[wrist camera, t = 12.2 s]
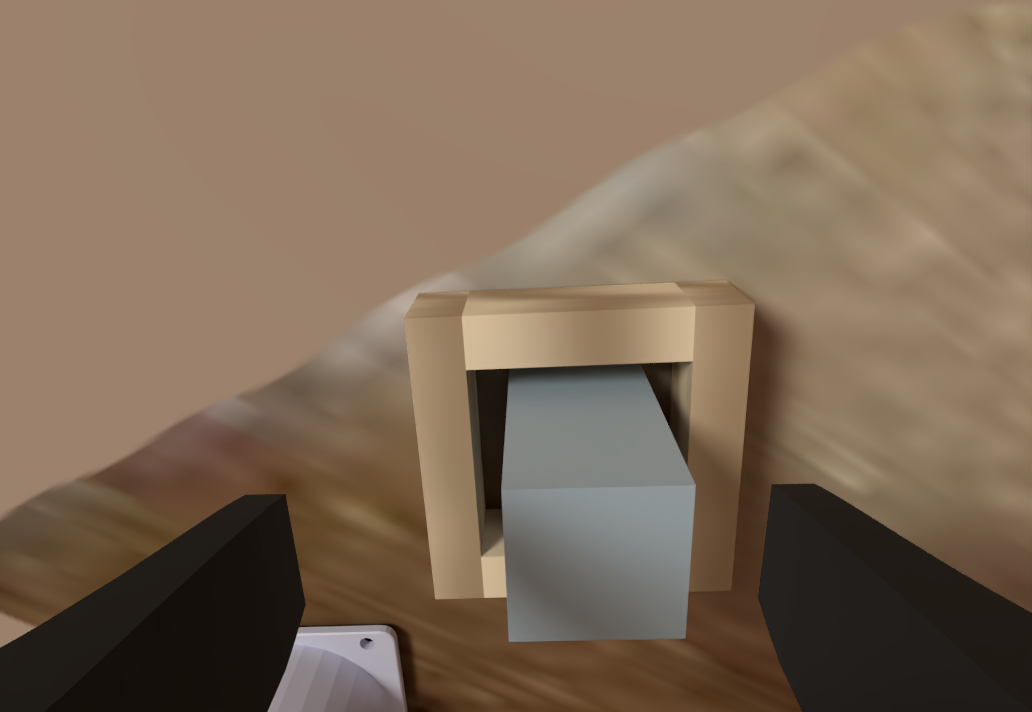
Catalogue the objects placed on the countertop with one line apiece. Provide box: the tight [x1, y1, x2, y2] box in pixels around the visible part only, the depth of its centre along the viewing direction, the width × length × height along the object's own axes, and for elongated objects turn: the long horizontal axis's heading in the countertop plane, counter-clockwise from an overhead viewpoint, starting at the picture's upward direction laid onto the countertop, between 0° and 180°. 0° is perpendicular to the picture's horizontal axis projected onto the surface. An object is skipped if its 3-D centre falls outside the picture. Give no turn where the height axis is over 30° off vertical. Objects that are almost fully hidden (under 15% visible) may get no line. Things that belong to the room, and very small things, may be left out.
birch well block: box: [404, 280, 755, 599], centre depth 20 cm, size 9×9×2 cm
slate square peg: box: [501, 363, 696, 642], centre depth 17 cm, size 4×4×7 cm
